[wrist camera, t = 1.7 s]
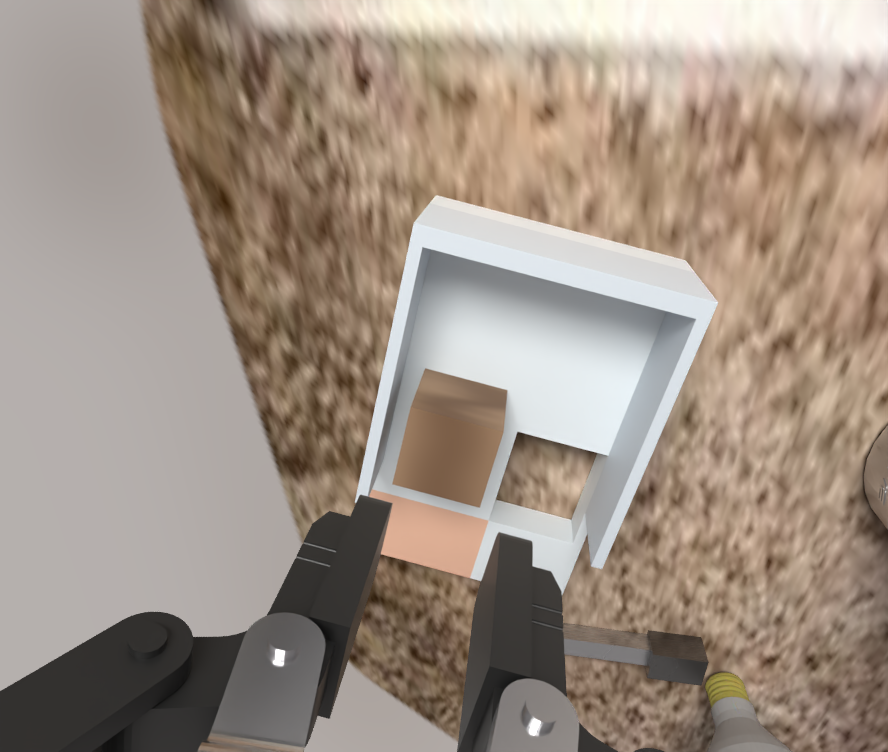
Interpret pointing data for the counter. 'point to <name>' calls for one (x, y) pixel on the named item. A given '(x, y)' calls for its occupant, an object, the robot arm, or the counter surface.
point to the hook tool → (641, 651)
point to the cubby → (533, 373)
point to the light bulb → (736, 718)
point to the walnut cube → (451, 438)
